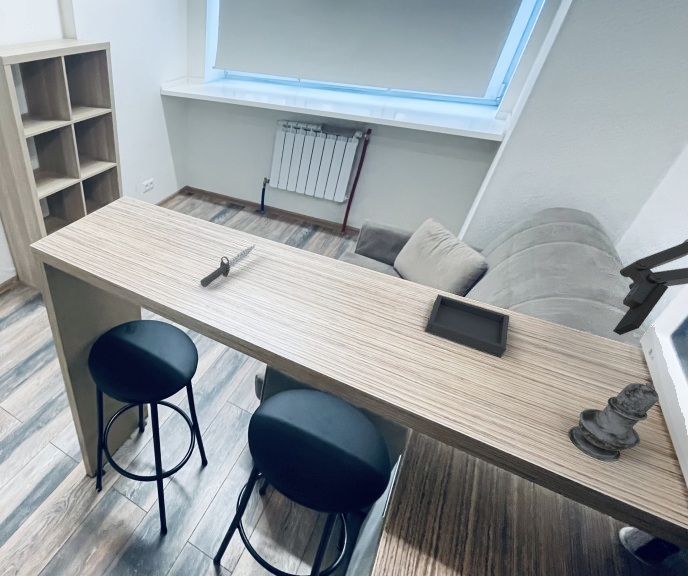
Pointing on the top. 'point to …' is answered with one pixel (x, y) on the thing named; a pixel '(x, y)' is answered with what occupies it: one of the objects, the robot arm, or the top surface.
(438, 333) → the serving tray
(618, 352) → the top surface
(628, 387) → the salt shaker
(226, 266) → the knife
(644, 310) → the robot arm
